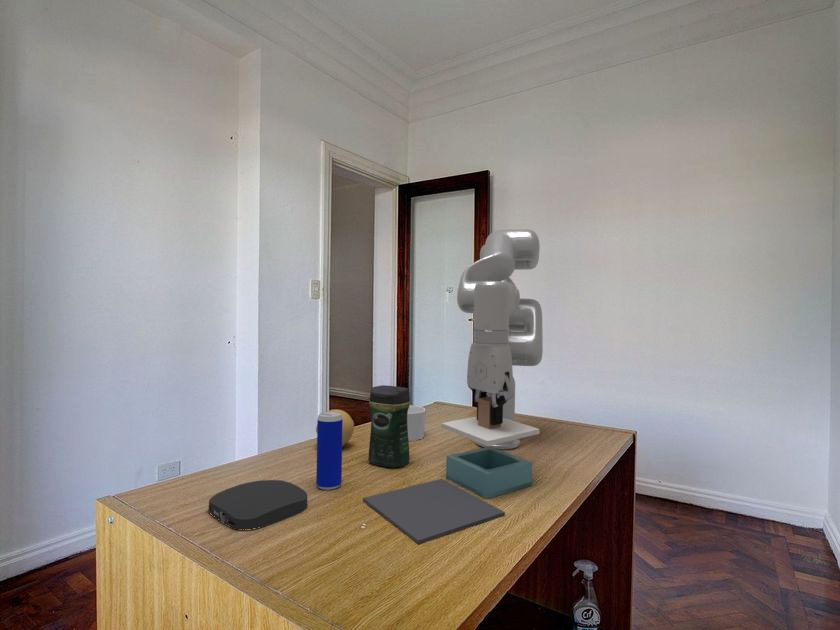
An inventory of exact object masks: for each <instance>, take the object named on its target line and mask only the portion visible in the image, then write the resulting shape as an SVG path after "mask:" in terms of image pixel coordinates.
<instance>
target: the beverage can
mask: <svg viewBox="0 0 840 630" xmlns="http://www.w3.org/2000/svg"><path fill="white" fill-rule="evenodd" d="M316 422H317V423H316V427H317V432H316V476H315V477H316V478H315V479H316V482H315V485H316V486H317V487H318V488H319V489H320V490H324V491H333V490H335V489H338V488H339V487H340V486H341V484H342V481H343V480H342V478H343V477H342V476H343V474H342V473H343V471H342V470H343V469H342V468H343V446H342V425H343V418H342V415H341V413H339V412H328V411H325V412H320V413H319V414H318V416H317V421H316Z"/></svg>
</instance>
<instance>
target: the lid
mask: <svg viewBox="0 0 840 630" xmlns="http://www.w3.org/2000/svg"><path fill="white" fill-rule="evenodd" d="M477 403H478V420H477V415H476V416H472V417H471V416H470V417H466V418H462V419H456V420H451V421H445V422H441V424H440V426H441V428H442V429H444V430H446V431H448V432H449V431H450V432H451V433H454V434H456V435H459V436H461V437H465V438H466V439H469V440H471V441H473V442H474V441H476V442H478V443H481V444H483V445H486V446H491V445H495V444H499V443H503V442H507V441H511V440H516V439H519V440H520V439H523V438H527V437H532V436H536V435H539V434H540V428H537V427H534V426H531V425H528V424H524V423H522V422H519V421H512V420H509V419H506V418H503V423H502V424H498V425H490V407H491V406H493V405H492V397H491V396H489V397H483V398H478V402H477Z"/></svg>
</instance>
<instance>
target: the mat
mask: <svg viewBox="0 0 840 630" xmlns="http://www.w3.org/2000/svg"><path fill="white" fill-rule="evenodd" d="M362 502H363V503H365V504H366V505H367V506H368V507H370V508H371V509H372V510H374V511H375V512H376V513H378V515H380V516H381V517H383V518H384V519H385V520H387V522H389V523H390V524H391V525H393V526H394V527H395V528H397V529H398V530H399V531H400V532H402V533H403V534H404V535H406V536H407V537H408V538H409V539H411V540H412V541H413V542H414V543H416V544H417V545H420V544H423V543H425V542H426V543H427V542H429V541H432V540H434V539H435V540H436V539H438V538H441V537H444V536H447V535H450V534H453V533H456V532H459V531H462V530H464V529H467V528H471V527H474V526H477V525H480V524H483V523H486V522H488V521H491V520H495V519H498V518H501V517H504V516H506V512H505V511H504V510H502V509H501V508H498V507H497V506H494V505H492V504H491V503H488V501H485V500H483V499H480V498H479V497H477V496H476V495H473V494H471V493H470V492H469V491H466V490H464V489H462V488H460V487H458V486H456V485H454V484H452V483H451V482H448V481H446V480H445V479H443V478H439V479H436V480H431V481H426V482H423V483H420V484H414V485H409V486H406V487H403V488H398V489H394V490H389V491H386V492H382V493H378V494H373V495H369V496H366V497H362Z"/></svg>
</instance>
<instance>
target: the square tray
mask: <svg viewBox="0 0 840 630" xmlns="http://www.w3.org/2000/svg"><path fill="white" fill-rule="evenodd" d="M445 457H446V458H445V459H446V460H445V463H446V465H445V469H446V470H445V472H446V473H445V478H446V480H449V481H451V482H453V483H455V484H456V485H459V486H460V487H463V488H464V489H465V490H468V491H470V492H471V493H474V494H475V495H478V496H480V497H481V498H484V499H486V500H488V499H492V498H495V497H498V496H502V495H505V494H509V493H512V492H515V491H519V490H522V489H526V488H529V487H531V486H532V483H533V482H532V480H533V479H532V478H533V462H532V461H530V460H527V459H524V458H522V457H518V456H517V455H514V454H511V453H509V452H506V451H503V450H501V449H495V448H492V447H481V448H476V449H471V450H466V451H463V452H457V453H452V454H447V455H446V456H445Z"/></svg>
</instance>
